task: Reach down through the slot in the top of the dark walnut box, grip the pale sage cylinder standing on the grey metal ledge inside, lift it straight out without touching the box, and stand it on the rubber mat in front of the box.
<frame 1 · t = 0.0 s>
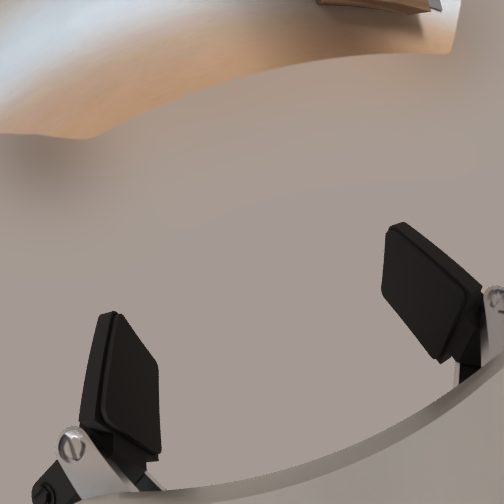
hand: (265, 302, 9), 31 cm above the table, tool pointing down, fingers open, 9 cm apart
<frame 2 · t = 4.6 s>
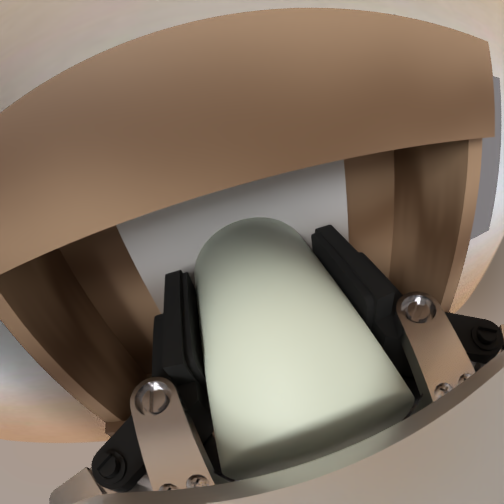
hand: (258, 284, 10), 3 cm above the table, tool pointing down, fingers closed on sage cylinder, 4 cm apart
rubber mat: (467, 161, 13), on the table
sage cylinder: (253, 271, 11), point 3 cm above the table, touching gripper, walnut box
walnut box: (241, 239, 13), on the table
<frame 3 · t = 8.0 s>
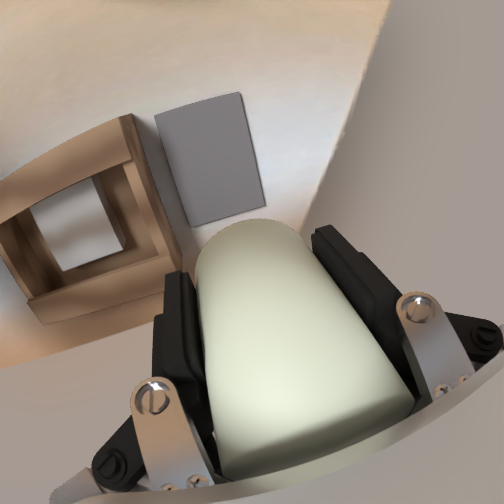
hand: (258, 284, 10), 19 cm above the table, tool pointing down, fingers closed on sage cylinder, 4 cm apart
rubber mat: (212, 160, 26), on the table
sage cylinder: (253, 272, 11), point 19 cm above the table, touching gripper
walnut box: (81, 217, 26), on the table
when the fingers open (3 cm above the table, at t = 11.4 s): sage cylinder drops 2 cm, resting on rubber mat.
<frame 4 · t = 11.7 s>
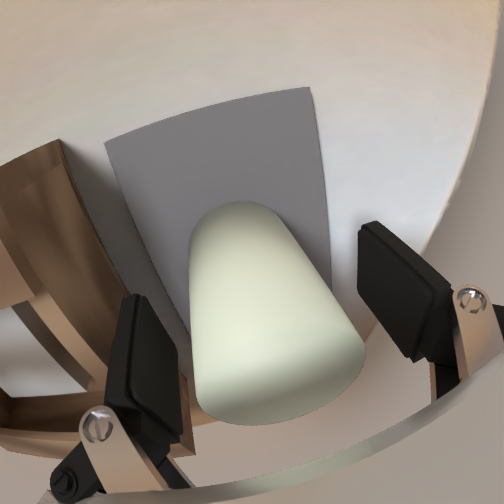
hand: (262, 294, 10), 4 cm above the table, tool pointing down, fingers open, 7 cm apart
rubber mat: (241, 240, 13), on the table
sage cylinder: (239, 248, 12), point 1 cm above the table, touching rubber mat
walnut box: (15, 326, 12), on the table
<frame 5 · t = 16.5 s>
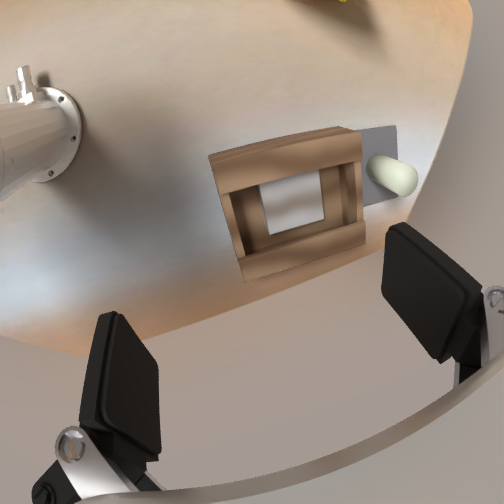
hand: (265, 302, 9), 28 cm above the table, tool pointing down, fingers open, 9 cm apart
rubber mat: (376, 165, 39), on the table
sage cylinder: (377, 167, 38), point 1 cm above the table, touching rubber mat
walnut box: (287, 193, 38), on the table
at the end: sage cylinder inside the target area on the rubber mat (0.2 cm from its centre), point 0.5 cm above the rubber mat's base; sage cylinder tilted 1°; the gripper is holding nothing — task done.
